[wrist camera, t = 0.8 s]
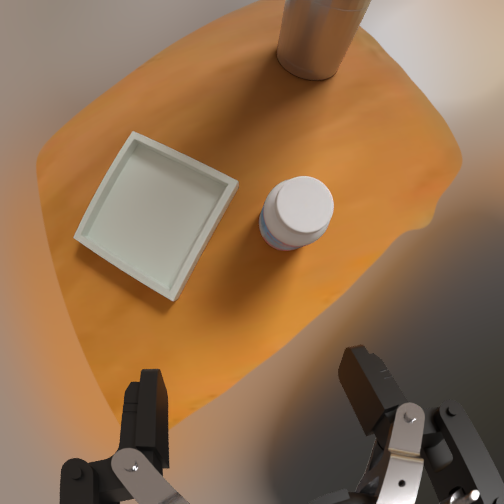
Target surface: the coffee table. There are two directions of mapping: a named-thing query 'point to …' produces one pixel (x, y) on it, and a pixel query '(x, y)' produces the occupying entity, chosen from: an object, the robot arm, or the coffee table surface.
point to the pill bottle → (296, 213)
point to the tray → (155, 213)
